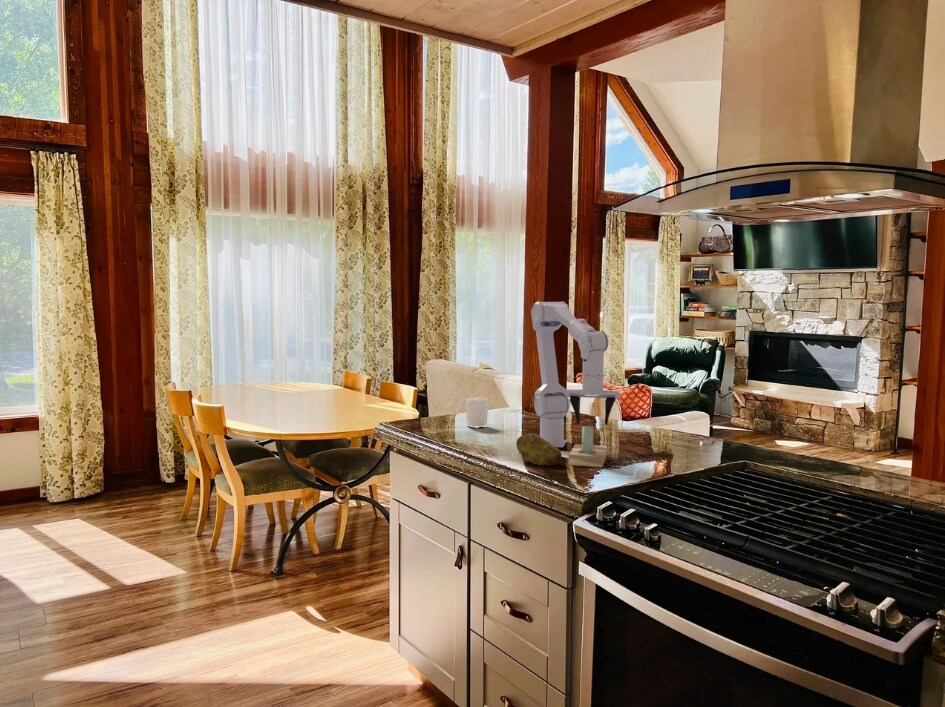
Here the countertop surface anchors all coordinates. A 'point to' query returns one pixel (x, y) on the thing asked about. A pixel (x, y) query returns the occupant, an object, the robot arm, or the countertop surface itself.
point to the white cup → (477, 411)
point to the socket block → (587, 456)
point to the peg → (587, 439)
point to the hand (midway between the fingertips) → (592, 423)
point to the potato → (538, 450)
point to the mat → (565, 454)
